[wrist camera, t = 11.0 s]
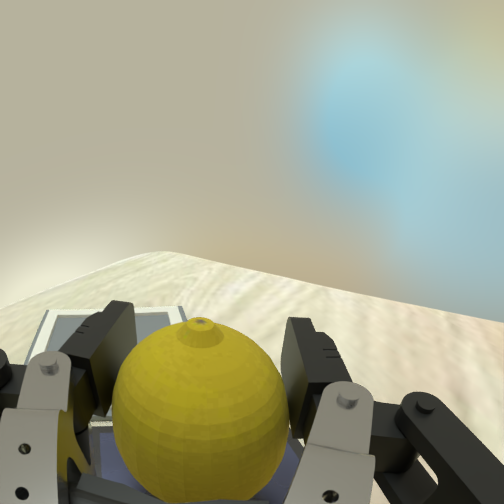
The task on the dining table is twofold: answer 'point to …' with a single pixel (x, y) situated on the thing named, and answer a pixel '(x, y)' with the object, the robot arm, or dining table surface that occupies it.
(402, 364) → the dining table surface
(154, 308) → the marked board
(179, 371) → the lemon
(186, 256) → the dining table surface
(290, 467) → the ink pad
